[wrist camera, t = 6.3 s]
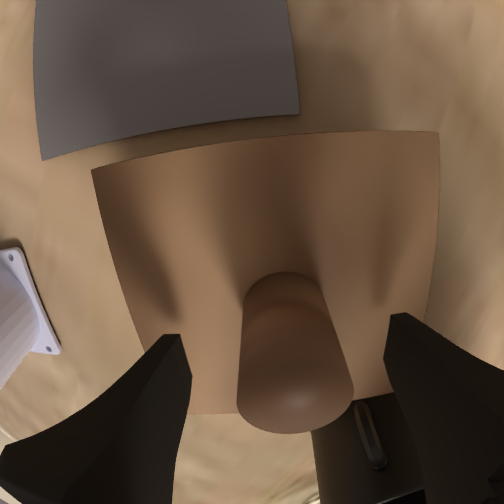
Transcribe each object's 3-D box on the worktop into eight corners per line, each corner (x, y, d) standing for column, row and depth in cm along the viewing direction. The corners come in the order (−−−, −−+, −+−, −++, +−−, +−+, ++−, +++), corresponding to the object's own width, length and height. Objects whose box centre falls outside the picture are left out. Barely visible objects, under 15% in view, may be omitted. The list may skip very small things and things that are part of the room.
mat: (46, 159, 13) (41, 160, 13) (44, -34, 8) (41, -36, 8) (298, 114, 13) (300, 114, 12) (266, -95, 8) (266, -99, 7)
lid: (174, 402, 15) (154, 486, 10) (101, 166, 10) (3, 203, 5) (402, 378, 14) (436, 457, 9) (427, 131, 9) (530, 148, 5)
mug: (413, 326, 17) (479, 440, 9) (428, 417, 21) (462, 498, 13) (275, 385, 19) (282, 513, 10) (330, 457, 23) (344, 543, 14)
